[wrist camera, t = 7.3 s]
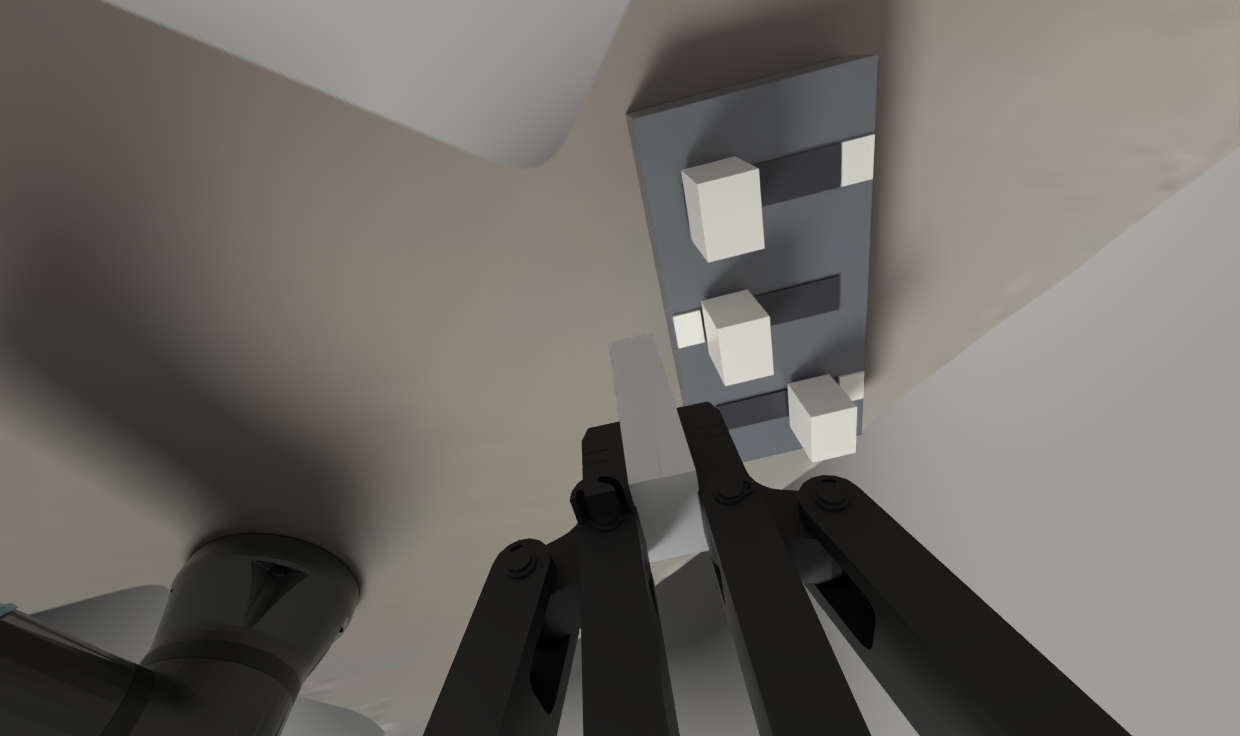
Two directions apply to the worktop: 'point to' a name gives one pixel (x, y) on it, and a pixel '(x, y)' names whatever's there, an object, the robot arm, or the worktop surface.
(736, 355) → the tab
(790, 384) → the tab
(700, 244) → the tab
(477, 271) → the worktop surface
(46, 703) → the robot arm
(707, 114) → the switch bank
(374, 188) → the worktop surface
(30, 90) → the worktop surface
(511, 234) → the worktop surface
